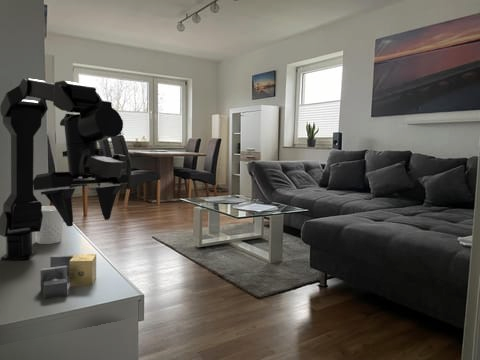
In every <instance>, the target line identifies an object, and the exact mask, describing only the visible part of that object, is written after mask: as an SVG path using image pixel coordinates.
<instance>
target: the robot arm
mask: <svg viewBox="0 0 480 360" xmlns="http://www.w3.org/2000/svg"><path fill="white" fill-rule="evenodd" d="M27 97H30V98H37V99H40V100H39V101H37V100H33V99H26V98H27ZM46 101H50V102H53V103H52V105H53V106H54V107H56V108H57V109H59V110H60V111H62V112H63V111H65V112H67V113H65V115H64V116H63V118H62V119H61V120H60V122H59V126H61V127H64V134H65V145H66V146H65V147H66V150H64V151H62V153H61V154H62V157H63V158H67V165H68V171H53V172H52V171H51V172H46V173H40V174H36V175H35V177H34V163H35V162H34V161H35V160H34V158H35V157H34V148H35V147H34V143H35V142H34V141H35V140H34V139H35V138H34V137H35V136H36V135H37V133H38V131H39V130H40V128H41V126H42V119H43V118H44V116H45V114H46V112H47V111H48V109H49V108H48V105H47V104H48V103H47V102H46ZM73 113H75V114H73ZM0 115H1V116H2V124H3V126H4V127H5V128H6V129H7V131H8V133H9V135H10V194H9V196H8V197H7V199H6V200H5V202H4V203H3V206H2V212H1V214H0V236H2V237H4V238H5V251H6V252H5V254H3V255H2V256H1V257H0V261H1V260H6V261H7V260H10V261H11V260H30V259H31V258H32V257H33V256H34V255H35V254H36V253H37V252H38V250H37V249H33V233H35V232H39V231H40V229H41V224H42V218H43V214H42V211H41V209H42V206H43V204H42V202H41V201H39V199H38V198H37V197H36V196H35V194H34V191H41V190H43V191H41V192H40V195H45V197H46V198H47V199H48V200H49V201H50V203H51V204H52V206H54V207H55V208H56V209H57V211H58V212H59V214H60V216H61V217H62V219H63V223H65V225H66V226H67V227H73V225H74V216H73V201H72V197H73V195H74V193H75V190H76V188H71V186H79V185H93V184H94V185H95V184H97V185H98V187H96V188H95V191H96V195H97V199H98V203H99V205H100V211H101V213H102V215H103V219H104V221H105V220H106V221H109V220H110V219H111V217H112V211H113V206H114V204H115V200H116V197H117V194H119V192H120V191H121V189H122V188H125V187H126V185H125V184H129V183H130V182H129V174H128V173H127V172H126V170H128V161H127V156H126V155H123V154H117V153H115V154H113V157H110V156H109V157H108V156H105V152H104V150H103V148H98V142H100V141H105V140H108V139H111V138H114V137H117V136H119V135H120V134H121V133H122V131H123V128H124V121H123V119H122V116H121V115H120V114H119V112H118V111H117V110H116V109H115V108H113V105H112V102H111V101H107V100H103V99H102V98H101V95H100V94H99V92H97V88H96V87H95V86H94V85H92V84H86V83H81V82H80V83H79V82H74V81H70V80H69V81H67V80H58V81H55V82H54V83H53V82H46V81H45V80H40V79H34V78H28V77H27V78H22V79H21V81H20V83H19V85H18V86H16V87H15V88H12V89H11V90H9V91H7V92H6V93H5V95H4V97H3V99H2V101H1V104H0ZM44 190H45V191H44Z"/></svg>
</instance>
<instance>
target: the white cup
mask: <svg viewBox="0 0 480 360" xmlns="http://www.w3.org/2000/svg"><path fill="white" fill-rule="evenodd" d="M41 211H42V214H43V218H42V224H41V229H40V231H39V232H34V234H35V242H36V244H39V245H53V244H57V243H60V242H62V238H63V225H64V220H63V219H62V217H61V216H60V214H59V212H58V211H57V209H56V208H55V207H54V205H44V206H43V205H42V209H41Z"/></svg>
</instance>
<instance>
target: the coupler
mask: <svg viewBox="0 0 480 360" xmlns="http://www.w3.org/2000/svg"><path fill="white" fill-rule="evenodd" d="M73 255H74V256H73V257H72V259H71V260H70V276H69V287H87V286H88V287H90V286H93V285H94V283H95V281H96V279H97V254H96V253H95V254H94V253H90V254H85V253H83V254H81V253H80V254H73Z"/></svg>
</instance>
